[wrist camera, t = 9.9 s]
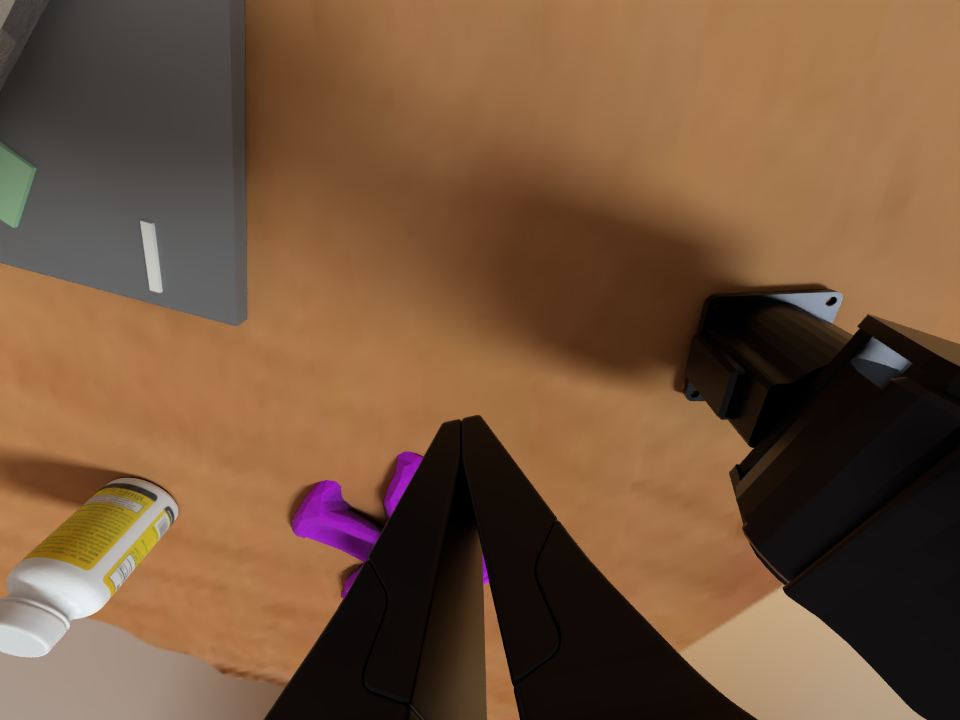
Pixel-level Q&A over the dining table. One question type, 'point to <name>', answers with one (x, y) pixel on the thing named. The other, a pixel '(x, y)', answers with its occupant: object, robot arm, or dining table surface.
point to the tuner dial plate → (130, 152)
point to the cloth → (352, 516)
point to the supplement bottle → (82, 564)
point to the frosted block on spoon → (16, 30)
